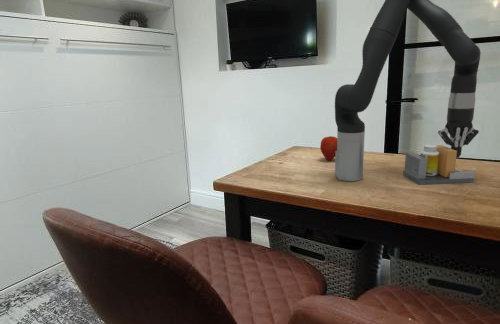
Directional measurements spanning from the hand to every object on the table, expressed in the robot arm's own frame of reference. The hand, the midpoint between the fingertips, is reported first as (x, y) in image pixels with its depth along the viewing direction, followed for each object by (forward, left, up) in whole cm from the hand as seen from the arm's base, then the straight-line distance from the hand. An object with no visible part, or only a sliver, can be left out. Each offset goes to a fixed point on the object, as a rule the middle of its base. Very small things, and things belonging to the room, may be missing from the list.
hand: (455, 157), depth 116 cm
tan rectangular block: (-4, 0, -6) cm, 7 cm away
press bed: (-6, 0, -7) cm, 9 cm away
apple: (-36, +31, -8) cm, 48 cm away
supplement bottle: (-9, 0, -6) cm, 11 cm away
